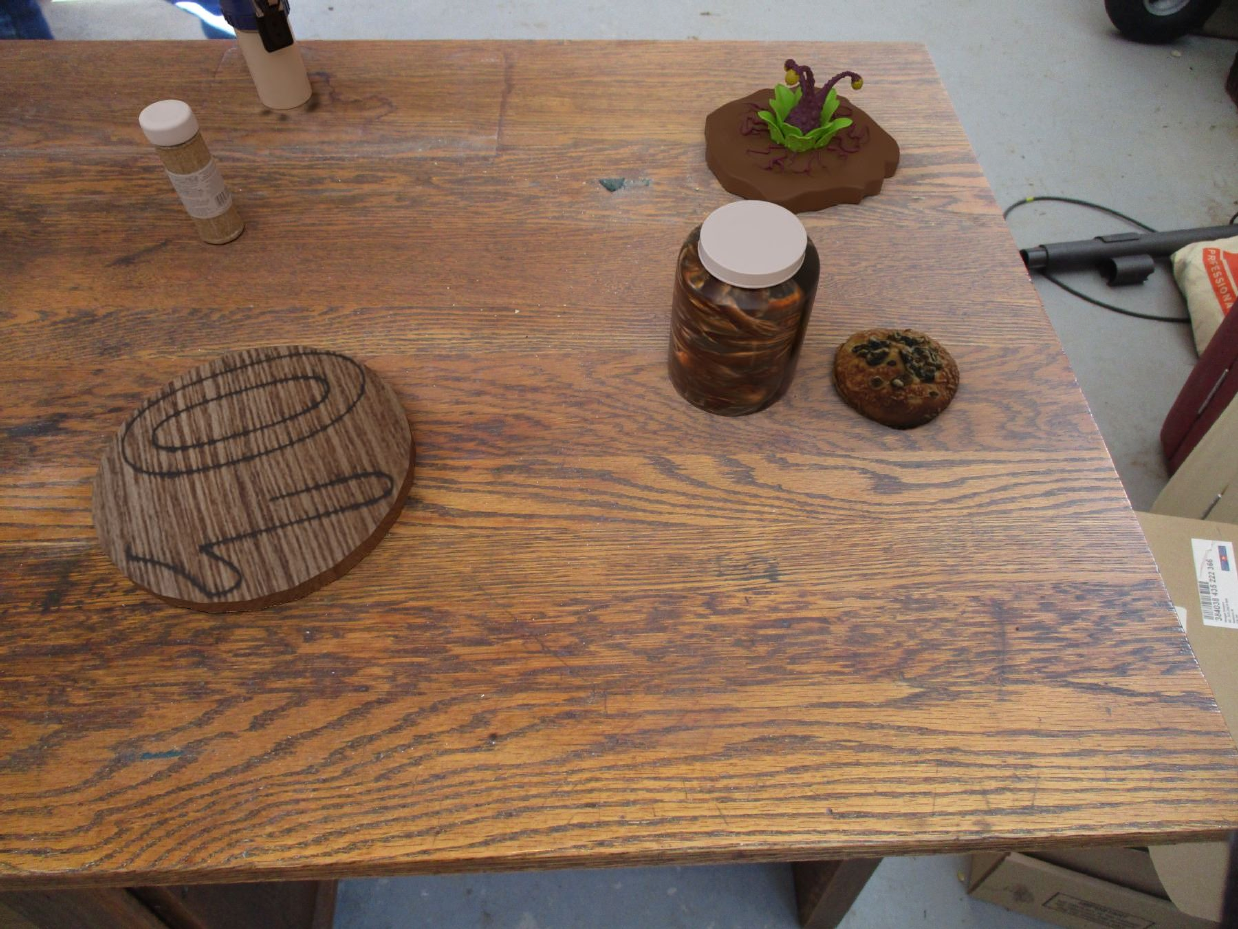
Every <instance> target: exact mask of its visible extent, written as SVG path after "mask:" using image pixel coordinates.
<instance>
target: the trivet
mask: <svg viewBox="0 0 1238 929" xmlns="http://www.w3.org/2000/svg"><path fill="white" fill-rule="evenodd" d="M414 441H415V440H414V437H413V433H412V429H411V425H410V421H409V417H408V415H407V412H406V409H405V407H404V405H403V403H402V401H401V400H400V399H399V397H398V395H397V394H396V393H395V391H394V390H393V388H392V387H391V385H390V384H389V382H388V381H386V380H385V378H383V377H382V376H380V375H379V374H378V373H377V372H376V371H374V370H373V369H372V368H370V367H369V366H368V365H366V364H365V363H364V362H361V361H359V360H357V359H354V358H353V357H349V356H347V355H345V354H342V353H340V352H337V351H335V350H332V349H331V350H330V349H325V348H318V347H312V346H306V345H302V344H301V345H300V344H296V345H295V344H294V345H274V346H273V345H271V346H259V347H254V348H251V349H246V350H242V351H238V352H233V353H228V354H224V355H222V356H219V357H217V358H214V359H212V360H210V361H207V362H205V363H203V364H201V365H198V366H195V367H193V368H190V369H189V370H187V371H184V372H183V373H182V374H180V375H178V376H177V377H176V378H174V379H172V380H170V381H169V382H167V383H166V384H165V385H163V386H161V387H160V388H158V389H157V390H156V391H154V392H153V393H152V394H151V395H149V396H148V397H147V398H146V400H144V401H143V402H142V403H141V404H140V405H139V406H138V407H137V408H136V409H134V411H133V412H131V413H130V415H129V416H127V418H126V419H124V421H123V422H122V423H121V425H120V427H119V429H117V431H116V433H115V434H114V436H113V437H112V439H111V440H110V441H109V443H108V445H107V446H106V448H105V449H104V451H103V453H102V456H101V459H100V461H99V465H98V467H97V470H96V473H95V476H94V478H93V482H92V485H91V487H92V488H91V523H92V524H93V528H94V530H95V533H96V536H97V539H98V541H99V544H100V547H101V549H102V552H104V554H105V555H106V556H107V557H108V559H110V560H111V562H112V563H113V564H114V565H115V566H116V567H117V568H118V569H119V571H120V572H121V573H122V574H123V575H124V576H125V577H126V579H128V580H129V581H130V582H131V583H132V584H133V585H134V586H136V588H138V589H139V588H140V589H139V590H141V589H142V590H141V591H143V592H145V591H146V592H145V593H146V594H148V595H150V594H151V595H150V596H152V595H153V597H154V596H155V597H154V598H156V597H157V598H156V599H158V598H159V599H158V600H159V601H162V600H163V601H164V602H163V601H162V602H163V603H165V602H166V603H165V604H167V603H168V604H167V605H169V604H171V605H175V606H181V607H186V608H192V609H196V610H201V611H206V612H211V613H212V612H226V611H228V612H229V611H245V610H246V611H249V610H251V611H254V610H259V609H263V608H265V607H270V606H273V607H275V606H274V605H277V606H280V605H281V604H280V603H284V604H286V603H285V602H287V603H289V602H288V601H291V602H293V601H292V600H294V601H296V600H295V599H298V600H300V599H299V598H301V597H303V596H305V595H307V594H309V593H311V592H312V593H314V592H316V591H318V590H320V589H322V588H323V587H322V586H324V585H326V584H327V585H329V584H331V583H333V582H335V581H337V580H339V579H341V578H343V577H344V576H345V575H346V574H347V573H348V572H349V571H351V570H352V569H353V568H354V567H355V566H356V565H358V564H359V563H360V562H361V561H362V560H363V559H362V558H364V557H365V556H366V555H367V554H368V553H369V552H371V551H372V550H373V549H374V550H376V548H377V547H378V546H379V544H380V543H381V542H382V541H383V539H384V538H385V536H386V535H387V534H388V533H389V531H390V530H391V529H392V527H393V525H394V524H395V523H396V522H397V520H398V519H399V518H400V516H401V513H402V511H403V508H404V506H405V503H406V501H407V499H408V496H409V494H410V491H411V489H412V486H413V484H414V477H415V476H414V475H415V464H416V454H417V450H416V449H417V448H416V445H415V442H414ZM395 521H396V522H395ZM383 537H384V538H383ZM382 538H383V539H382ZM380 541H381V542H380ZM379 542H380V543H379ZM377 545H378V546H377ZM376 546H377V547H376ZM374 550H373V551H374ZM373 551H372V552H373ZM372 552H371V553H372ZM369 554H370V553H369ZM369 554H368V555H369ZM368 555H367V556H368ZM367 556H366V557H367ZM366 557H365V558H366ZM365 558H364V559H365ZM361 559H362V560H361ZM360 560H361V561H360ZM359 561H360V562H359ZM358 562H359V563H358ZM357 563H358V564H357ZM355 564H356V565H355ZM354 565H355V566H354ZM353 566H354V567H353ZM352 567H353V568H352ZM351 568H352V569H351ZM347 571H348V572H347ZM346 572H347V573H346ZM345 573H346V574H345ZM344 574H345V575H344ZM340 577H341V578H340ZM338 578H339V579H338ZM336 579H337V580H336ZM334 580H335V581H334ZM332 581H333V582H332ZM330 582H331V583H330ZM328 583H329V584H328ZM327 585H326V586H327ZM321 587H322V588H321ZM324 587H325V586H324ZM312 593H311V594H312ZM309 595H310V594H309ZM307 596H308V595H307ZM305 597H306V596H305ZM303 598H304V597H303ZM301 599H302V598H301ZM279 604H280V605H279ZM171 605H170V606H171ZM175 606H174V607H175ZM270 608H271V607H270ZM263 610H264V609H263ZM259 611H260V610H259ZM254 612H255V611H254Z"/></svg>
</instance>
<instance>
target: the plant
mask: <svg viewBox="0 0 1238 929" xmlns="http://www.w3.org/2000/svg"><path fill="white" fill-rule="evenodd" d="M783 63H784V64H783V70H784V71H785V72H786V73H785V76H784V81H785V83H786V85H783V84H782V83H779V82H778V83H777V84H776V85H775V86H774V88H767V87H765V88H762V89H759V90H756V91H755V92H753V93H751V94H749V95H746V96H744V97H740V98H738V99H734V100H732V101H729V102H727V103H725V104H723V105H721V106H719V107H718V108H716V109H715V110H713V111H712V112H710V113H709V114H707V116H706V117H705V125H704V138H705V142H706V147H705V161H706V163H707V164H706V165H707V166H708V168H709V170H710V171H711V173H713V175H714V176H715V178H717V180H718V181H719V183H720V184H721V186H722V187H723V188H724V189H725V190H726V191H727V192H729V193H732V194H734V195H738V196H740V197H743V198H744V199H745V200H759V201H765V202H770V203H773V204H776V205H779V206H781V207H783V208H785V209H787V210H788V211H790V212H792V213H793V214H794V215H795V214H798V213H802V212H814V211H815V212H816V211H821V210H824V209H827V208H831V207H833V206H836V205H838V204H844V203H845V204H858V205H859V204H860V203H861V201H862V200H863V198H866V197H869V196H876V195H878V194H880V192H881V190H882V186H883V183H884V180H885V178H889V177H893V176H894V175H895V174H896V172H897V170H898V167H899V164H900V160H901V151H900V147H899V144H898V142H897V140H896V139H895V138H894V137H893V136H892V135H890V134H889V133H888V132H887V131H886V130H885V129H884V128H883V127H881V125H879V124H878V123H877V122H876V121H875V120H874V119H873V118H872V116H870V115H869V114H868V113H867V112H866V111H864V110H863V109H861V108H860V107H858V106H857V105H855V104H853V103H852V102H851V101H850V99H849V98H847V97H846V96H843V95H839V94H838V93H837V89H836V88H835V87H834V86H835V85H836V84H837V83H838V82H839V81H840V80H842V79H845V78H846V77H850V86H851V88H852V89H853V90H854V91H859V90H861V89H862V88H863V86H864V79H863V77H862V76H861V75H860V74H858V73H857V72H853V71H851V70H846V71H842V72H840V73H836V75H835V76H832V77H831V79H828V80H827V83H824V84H823V86H822V87H818V86H815V84H816V79H815V78H814V76H815V75H814V72H813V71H812V69H811V66H809V65H805V64H804V65H803V64H802V65H799V64H798V63H797V61H796V60H794V59H793V58H788V59H786V60H785V61H784V62H783ZM804 73H805V74H804ZM788 86H791V87H788Z"/></svg>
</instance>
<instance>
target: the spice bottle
mask: <svg viewBox="0 0 1238 929" xmlns="http://www.w3.org/2000/svg"><path fill="white" fill-rule="evenodd" d="M138 123H139V125H140V128H141V130H142V131H143V133H144V136H145V138H146V139H147V140H148V142H150V143H151V145H152V146H153V148H154V149H155V152H156V153H157V155H158V157H159V160H160V161H161V163H162V165H163V167H164V171H165V173H166V174H167V176H168V178H169V181H170V182H171V184H172V186H173V188H174V189H175V192H176V194H177V195H178V198H179V199H180V201H181V204H182V205H183V207H184V209H185V210H186V212H187V214H188V215H189V216H190V219H191V220H192V222H193V225H194V226H195V228H196V230H197V234H198V236H199V238H200V239H201V240H202V241H203V242H205V243H208V244H213V245H223V244H226V243H229V242H232V241H234V240H236V239H237V238H238V237H239V236H240V235H241V234H242V232H243V230H244V228H245V226H244V224H245V223H244V220H243V218H242V217H241V216H240V215H239V212H238V211H237V209H236V206H235V204H234V202H233V197H232V195H231V193H230V191H229V189H228V186H227V184H226V182H225V179H224V178H223V176H222V174H221V172H220V169H219V167H218V165H217V163H216V161H215V159H214V156H213V154H212V153H211V152H210V149H209V148H208V146H207V144H206V141H205V140H204V139H205V138H204V137H203V135H202V133H201V128H200V126H199V122H198V120H197V118H196V116H195V114H194V112H193V110H192V108H191V107H190V105H189V104H188V103H186V102H184V101H183V100H179V99H164V100H163V99H162V100H159V101H156V102H154V103H150V104H149V105H148V106H146V107H145V108H144V109H143V110H142V111H140V113H139V116H138Z"/></svg>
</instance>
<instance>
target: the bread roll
mask: <svg viewBox="0 0 1238 929" xmlns="http://www.w3.org/2000/svg"><path fill="white" fill-rule="evenodd" d="M832 367H833V369H832V374H831V378H832V381H833V383H834V385H835V389H836V392H838V394H839V396H841V398H842V399H843V401H844V402H845V403H846V404H848V405H849V406H851V407H852V408H853V409H854V410H856V411H857V413H859V414H861V415H863V416H864V417H866V418H868V419H870V420H871V421H874V422H877V423H879V424H881V425H883V426H886V427H887V428H891V429H892V430H898V431H901V430H902V431H906V430H914V429H916V428H919V427H921V426H924V425H927V424H929V423H930V422H932V421H933V420H935V419H937V417H939V416H940V415H941V414H942V413H943V412H944V411H945V410H946V409H947V408H948V406H949V405H950V404H951V403H952V401H953V400H954V398H955V396H956V394H957V391H958V389H959V385H960V379H961V377H960V371H959V366H958V364H957V361H956V360H955V358H953V356H952V355H951V353H950V352H949V351H948V350H947V348H945V347H944V346H942V345H941V344H940V343H939V341H937V340H935V339H933V338H932V337H931V336H929V335H927V334H926V333H924V332H919V331H917V330H914V329H912V328H909V327H908V328H906V329H898V328H886V327H875V328H871V329H866V330H863V331H858V332H855V333H852V335H851V336H849V337H848V338H847V339H846V341H845V342H844V341H843V342H841V343H840V345H839V346H838V347H837V352H836V354H835V357H834V359H833V361H832Z"/></svg>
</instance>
